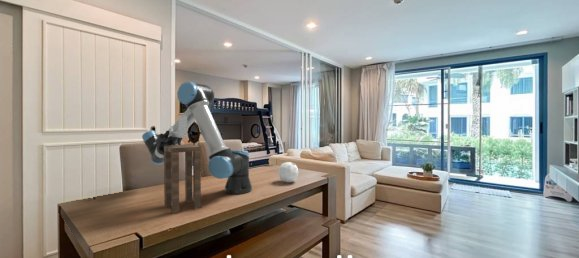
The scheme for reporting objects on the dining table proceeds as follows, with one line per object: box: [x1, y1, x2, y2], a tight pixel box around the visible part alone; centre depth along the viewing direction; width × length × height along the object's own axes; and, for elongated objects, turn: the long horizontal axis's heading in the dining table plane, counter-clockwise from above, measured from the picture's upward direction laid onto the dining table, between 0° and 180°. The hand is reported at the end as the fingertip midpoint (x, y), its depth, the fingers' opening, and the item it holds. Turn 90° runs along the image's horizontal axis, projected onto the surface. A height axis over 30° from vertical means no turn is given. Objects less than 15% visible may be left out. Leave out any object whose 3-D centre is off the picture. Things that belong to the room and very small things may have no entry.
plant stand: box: [163, 143, 202, 214], centre depth 115 cm, size 13×12×28 cm
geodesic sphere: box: [277, 161, 299, 184], centre depth 163 cm, size 14×14×14 cm
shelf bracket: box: [171, 114, 188, 139], centre depth 120 cm, size 20×3×10 cm, turn 42°
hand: (176, 128), depth 120 cm, fingers closed on shelf bracket, 3 cm apart
